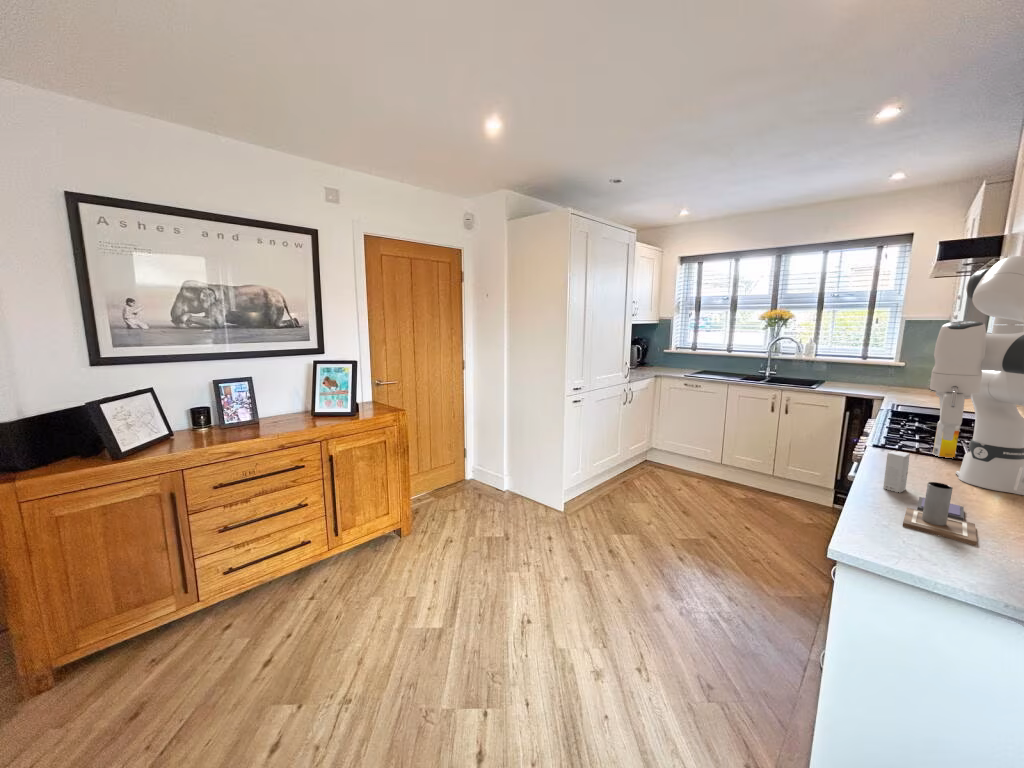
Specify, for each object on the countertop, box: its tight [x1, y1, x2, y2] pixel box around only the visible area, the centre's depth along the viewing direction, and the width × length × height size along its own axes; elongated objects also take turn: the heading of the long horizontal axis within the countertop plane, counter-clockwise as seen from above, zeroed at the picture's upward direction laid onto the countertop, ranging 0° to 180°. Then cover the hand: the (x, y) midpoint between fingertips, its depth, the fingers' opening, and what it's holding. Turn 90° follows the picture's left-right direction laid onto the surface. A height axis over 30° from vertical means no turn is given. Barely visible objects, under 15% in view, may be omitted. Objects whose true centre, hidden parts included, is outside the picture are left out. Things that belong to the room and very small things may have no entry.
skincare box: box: [882, 450, 911, 493], centre depth 131 cm, size 6×4×12 cm
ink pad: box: [916, 496, 965, 521], centre depth 116 cm, size 10×9×2 cm
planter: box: [922, 481, 954, 526], centre depth 107 cm, size 4×4×10 cm
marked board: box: [902, 507, 978, 546], centre depth 107 cm, size 13×13×1 cm
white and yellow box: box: [932, 419, 961, 459], centre depth 161 cm, size 6×6×15 cm
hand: (947, 435), depth 107 cm, fingers open, 8 cm apart
